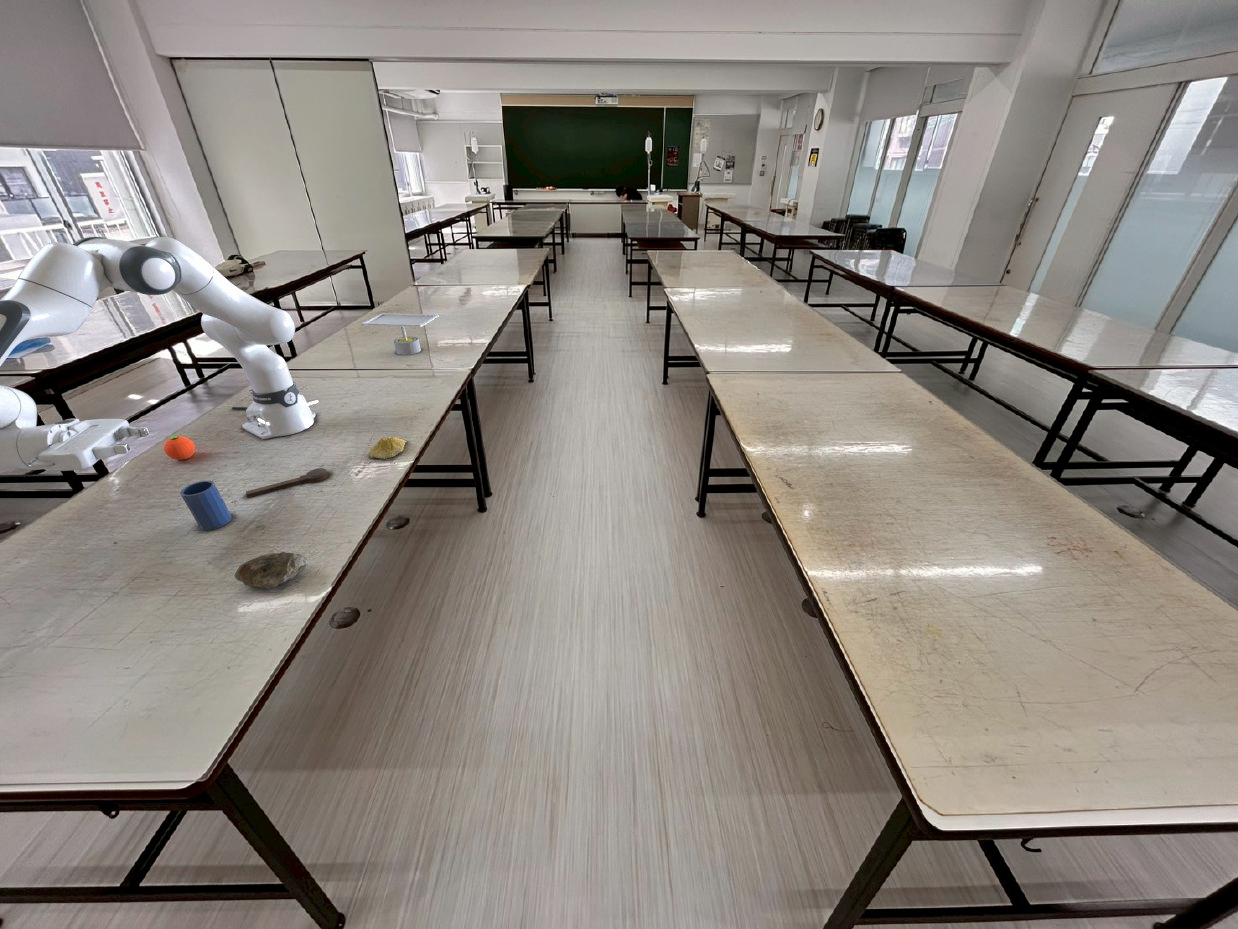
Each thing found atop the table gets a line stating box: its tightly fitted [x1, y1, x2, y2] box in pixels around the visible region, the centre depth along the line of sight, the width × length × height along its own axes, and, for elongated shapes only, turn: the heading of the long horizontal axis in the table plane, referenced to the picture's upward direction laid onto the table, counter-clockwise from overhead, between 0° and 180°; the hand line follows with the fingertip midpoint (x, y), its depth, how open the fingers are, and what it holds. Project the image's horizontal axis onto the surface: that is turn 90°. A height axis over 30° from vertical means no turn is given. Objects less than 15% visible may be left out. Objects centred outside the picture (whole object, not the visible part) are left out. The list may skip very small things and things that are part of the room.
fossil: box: [368, 436, 407, 460], centre depth 148 cm, size 11×6×10 cm
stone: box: [233, 551, 309, 590], centre depth 102 cm, size 13×8×8 cm
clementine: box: [163, 435, 196, 461], centre depth 145 cm, size 8×7×7 cm
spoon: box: [245, 467, 329, 498], centre depth 134 cm, size 19×5×2 cm, turn 122°
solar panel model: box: [360, 312, 440, 356], centre depth 224 cm, size 28×17×15 cm, turn 82°
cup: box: [179, 480, 233, 531], centre depth 118 cm, size 6×6×10 cm
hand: (137, 439), depth 107 cm, fingers open, 8 cm apart
